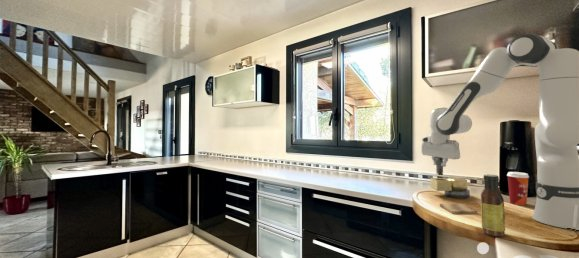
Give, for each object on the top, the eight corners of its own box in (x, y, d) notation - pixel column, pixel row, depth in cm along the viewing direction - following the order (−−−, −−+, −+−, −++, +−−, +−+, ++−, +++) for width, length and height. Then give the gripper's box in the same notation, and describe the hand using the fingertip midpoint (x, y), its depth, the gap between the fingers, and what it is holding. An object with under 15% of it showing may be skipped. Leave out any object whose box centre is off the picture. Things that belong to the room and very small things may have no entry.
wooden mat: (462, 205, 115) (462, 203, 115) (477, 213, 105) (477, 211, 105) (439, 205, 115) (439, 203, 115) (452, 213, 105) (452, 211, 105)
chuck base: (461, 192, 136) (461, 186, 136) (475, 198, 125) (474, 192, 125) (440, 192, 137) (440, 186, 137) (451, 198, 126) (451, 192, 126)
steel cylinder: (441, 173, 133) (441, 155, 133) (444, 175, 130) (444, 155, 130) (435, 173, 133) (435, 155, 133) (438, 175, 130) (438, 155, 130)
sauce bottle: (509, 238, 82) (508, 177, 82) (488, 236, 84) (487, 177, 83) (497, 229, 89) (496, 173, 89) (477, 228, 90) (476, 173, 90)
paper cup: (525, 207, 110) (525, 175, 110) (504, 202, 117) (503, 172, 117) (532, 204, 114) (532, 173, 114) (511, 200, 121) (510, 170, 121)
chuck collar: (460, 186, 135) (460, 177, 135) (471, 191, 126) (471, 180, 126) (429, 186, 136) (429, 177, 136) (438, 191, 127) (438, 181, 127)
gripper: (463, 140, 122) (463, 168, 123) (428, 138, 142) (428, 162, 142) (453, 140, 120) (453, 169, 121) (419, 138, 140) (419, 163, 140)
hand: (439, 165), depth 132 cm, fingers closed on steel cylinder, 3 cm apart
